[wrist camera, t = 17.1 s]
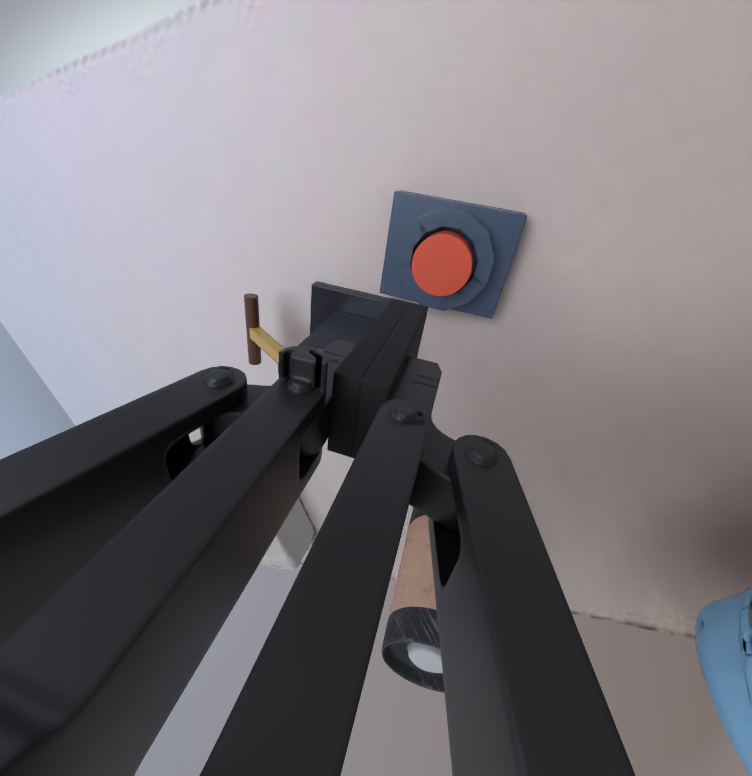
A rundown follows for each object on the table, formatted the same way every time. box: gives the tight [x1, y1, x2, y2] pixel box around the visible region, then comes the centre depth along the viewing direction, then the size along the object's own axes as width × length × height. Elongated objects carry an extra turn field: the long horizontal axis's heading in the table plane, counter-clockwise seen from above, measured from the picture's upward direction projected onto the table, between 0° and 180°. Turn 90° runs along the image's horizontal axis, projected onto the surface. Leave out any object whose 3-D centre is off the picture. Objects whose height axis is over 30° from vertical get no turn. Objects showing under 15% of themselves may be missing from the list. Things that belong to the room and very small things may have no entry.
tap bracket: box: [278, 282, 392, 373], centre depth 31 cm, size 10×9×13 cm
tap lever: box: [244, 294, 285, 365], centre depth 30 cm, size 13×7×2 cm
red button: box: [412, 231, 473, 296], centre depth 26 cm, size 4×4×2 cm
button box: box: [380, 191, 527, 318], centre depth 28 cm, size 10×8×4 cm
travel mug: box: [382, 508, 445, 693], centre depth 34 cm, size 8×8×20 cm
